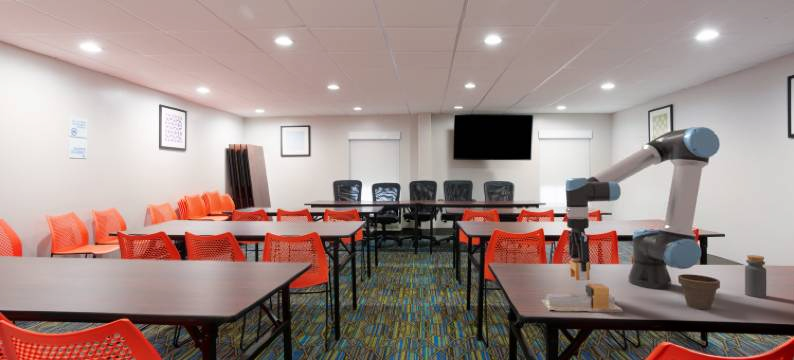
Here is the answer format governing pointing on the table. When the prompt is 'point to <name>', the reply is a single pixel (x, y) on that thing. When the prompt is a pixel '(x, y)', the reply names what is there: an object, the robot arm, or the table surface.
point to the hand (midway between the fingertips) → (579, 277)
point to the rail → (583, 300)
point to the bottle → (755, 277)
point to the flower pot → (699, 290)
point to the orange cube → (577, 269)
